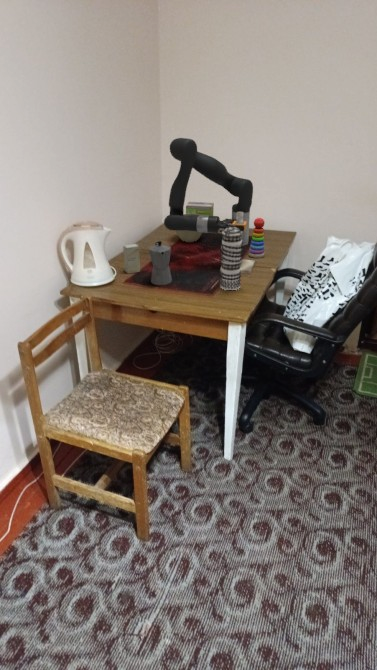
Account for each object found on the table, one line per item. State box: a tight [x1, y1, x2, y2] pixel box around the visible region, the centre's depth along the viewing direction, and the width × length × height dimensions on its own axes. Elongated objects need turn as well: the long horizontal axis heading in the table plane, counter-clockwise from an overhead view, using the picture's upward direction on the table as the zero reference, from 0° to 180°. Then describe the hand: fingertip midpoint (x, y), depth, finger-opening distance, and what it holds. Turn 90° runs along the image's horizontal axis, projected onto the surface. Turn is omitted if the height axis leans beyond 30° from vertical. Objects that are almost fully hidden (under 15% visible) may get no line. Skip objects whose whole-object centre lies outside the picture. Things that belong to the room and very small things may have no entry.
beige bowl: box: [174, 213, 203, 243], centre depth 247 cm, size 18×18×12 cm
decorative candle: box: [219, 227, 244, 291], centre depth 186 cm, size 9×9×25 cm
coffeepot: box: [148, 240, 173, 286], centre depth 195 cm, size 15×9×18 cm, turn 13°
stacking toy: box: [248, 217, 266, 259], centre depth 222 cm, size 8×8×19 cm
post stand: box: [219, 212, 256, 275], centre depth 206 cm, size 14×14×26 cm
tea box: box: [185, 201, 214, 216], centre depth 265 cm, size 15×10×15 cm, turn 80°
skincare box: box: [122, 243, 141, 274], centre depth 207 cm, size 6×4×12 cm
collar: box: [232, 221, 247, 232], centre depth 203 cm, size 6×6×3 cm
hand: (245, 226), depth 202 cm, fingers closed on collar, 5 cm apart
